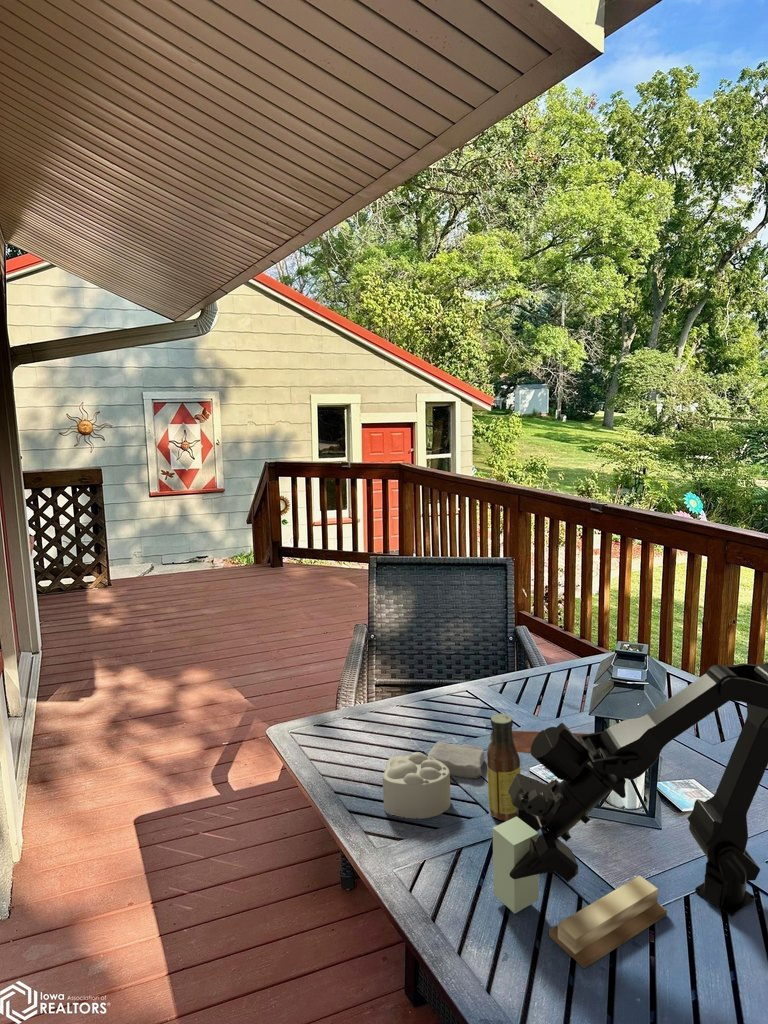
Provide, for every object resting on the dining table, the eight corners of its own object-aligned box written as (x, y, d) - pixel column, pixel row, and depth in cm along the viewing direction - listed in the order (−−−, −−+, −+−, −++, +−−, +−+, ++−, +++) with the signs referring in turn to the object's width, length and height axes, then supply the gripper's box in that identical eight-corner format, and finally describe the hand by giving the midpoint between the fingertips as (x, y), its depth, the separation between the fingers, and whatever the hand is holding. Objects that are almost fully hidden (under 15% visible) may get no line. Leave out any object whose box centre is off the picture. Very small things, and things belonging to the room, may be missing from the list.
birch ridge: (629, 887, 114) (630, 869, 113) (666, 915, 108) (667, 895, 107) (549, 935, 105) (549, 915, 104) (584, 968, 99) (584, 947, 98)
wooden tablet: (488, 746, 156) (491, 720, 165) (488, 754, 157) (491, 728, 166) (611, 757, 150) (607, 729, 160) (611, 765, 151) (606, 737, 160)
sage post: (517, 881, 114) (516, 816, 112) (538, 900, 110) (538, 833, 107) (493, 893, 112) (492, 827, 109) (514, 913, 107) (513, 845, 105)
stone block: (434, 758, 157) (424, 774, 148) (435, 737, 157) (425, 751, 148) (486, 767, 154) (479, 783, 144) (487, 745, 154) (481, 761, 144)
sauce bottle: (526, 809, 135) (527, 715, 131) (513, 827, 130) (513, 730, 126) (495, 799, 138) (495, 707, 134) (481, 815, 133) (481, 721, 129)
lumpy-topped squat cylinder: (389, 785, 144) (388, 747, 143) (452, 789, 142) (451, 750, 140) (381, 816, 134) (379, 775, 133) (448, 821, 132) (447, 780, 130)
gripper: (527, 732, 115) (462, 795, 117) (556, 799, 97) (479, 873, 99) (573, 772, 117) (509, 833, 119) (611, 846, 99) (534, 917, 101)
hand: (506, 860), depth 109 cm, fingers closed on sage post, 7 cm apart
